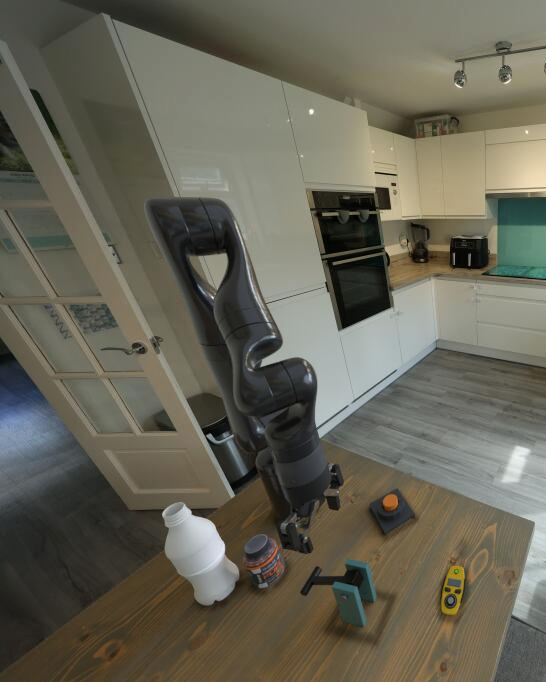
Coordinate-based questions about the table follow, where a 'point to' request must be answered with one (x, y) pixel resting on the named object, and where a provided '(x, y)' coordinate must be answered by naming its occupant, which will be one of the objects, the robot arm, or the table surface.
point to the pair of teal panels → (354, 594)
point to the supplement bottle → (263, 561)
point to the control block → (392, 512)
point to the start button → (390, 502)
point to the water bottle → (199, 554)
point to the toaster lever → (332, 579)
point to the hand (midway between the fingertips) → (322, 528)
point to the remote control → (452, 590)
